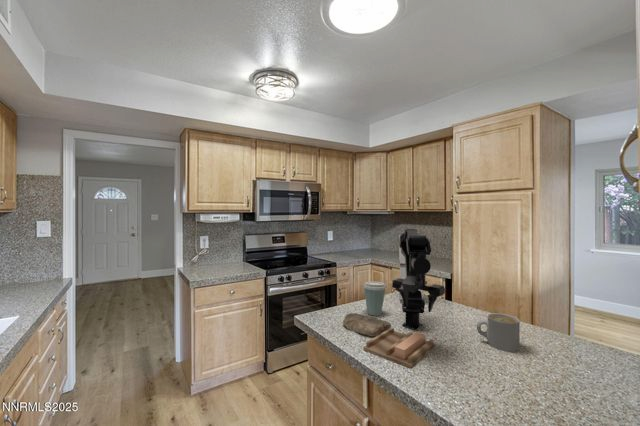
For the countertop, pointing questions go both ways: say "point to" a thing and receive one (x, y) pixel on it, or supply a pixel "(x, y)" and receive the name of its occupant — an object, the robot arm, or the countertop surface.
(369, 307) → the disposable coffee cup
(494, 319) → the coffee mug
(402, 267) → the white tall box
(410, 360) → the rack rail
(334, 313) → the countertop surface
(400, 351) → the clay strip
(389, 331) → the rack rail
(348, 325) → the brown rock
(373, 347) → the rack
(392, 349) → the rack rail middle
